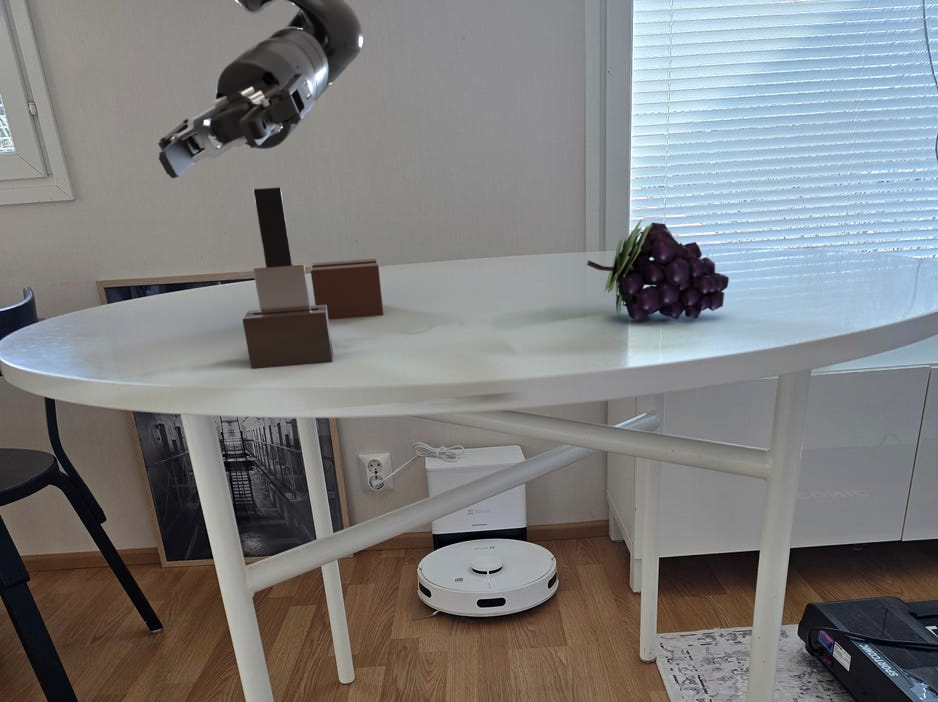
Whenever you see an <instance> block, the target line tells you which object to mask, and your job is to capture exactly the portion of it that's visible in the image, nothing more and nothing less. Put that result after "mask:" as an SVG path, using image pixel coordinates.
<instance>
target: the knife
mask: <svg viewBox="0 0 938 702" xmlns="http://www.w3.org/2000/svg"><path fill="white" fill-rule="evenodd" d="M281 189H282V188H281V187H277V186H275V187H263V188H253V190H252V191H253V198H254V204H255V209H256V216H257V223H258V229H259V235H260V239H261V241H260V242H261V245H262V246H261V248H262V254H263V259H264V266H254V267H253V269H252V270H253V276H254V281H255V287H256V288H255V289H256V294H257V299H258V300H257V301H258V306H259V310H260V312H261V315H263V314H276V313H289V312H301V311H311V309H310V306H311V302H310V295H309V289H308V281H307V274H306V267H305V263H293V261H292V257H291V256H292V255H291V249H290V242H289V235H288V228H287V222H286V215H285V210H284V209H285V208H284V201H283V195H282V194H283V193H282V190H281Z"/></svg>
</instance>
